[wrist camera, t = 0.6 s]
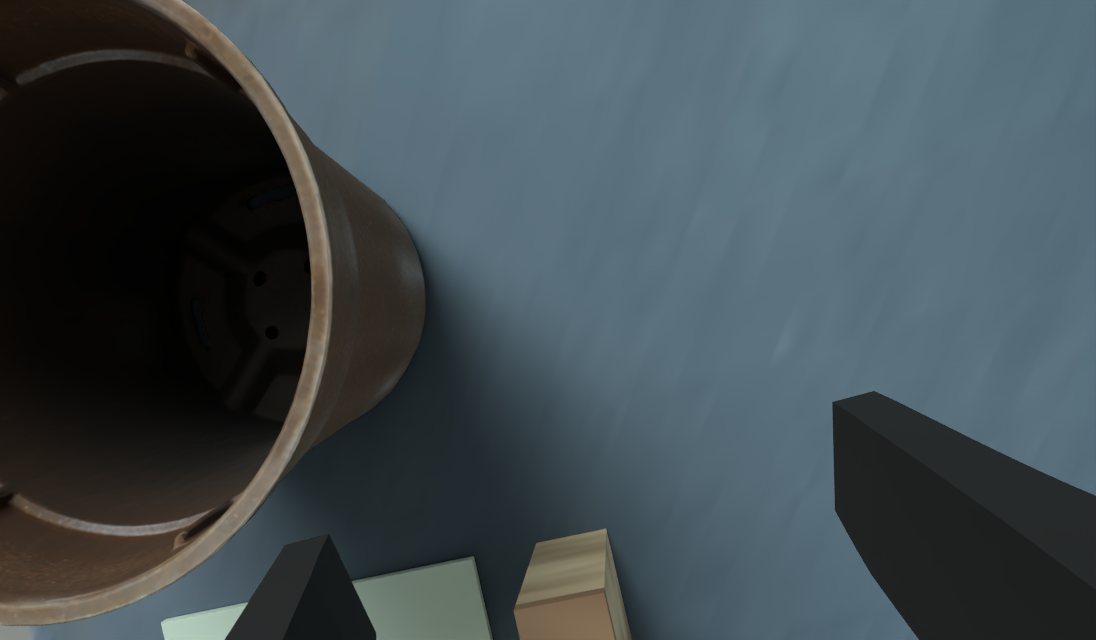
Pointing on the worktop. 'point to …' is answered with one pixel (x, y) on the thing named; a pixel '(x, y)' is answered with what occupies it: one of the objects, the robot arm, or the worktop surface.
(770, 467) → the worktop surface
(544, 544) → the oak slab
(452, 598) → the rubber mat
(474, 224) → the worktop surface
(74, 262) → the plant pot
